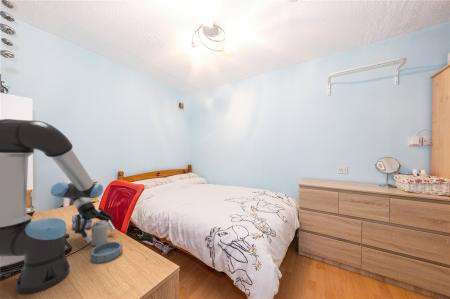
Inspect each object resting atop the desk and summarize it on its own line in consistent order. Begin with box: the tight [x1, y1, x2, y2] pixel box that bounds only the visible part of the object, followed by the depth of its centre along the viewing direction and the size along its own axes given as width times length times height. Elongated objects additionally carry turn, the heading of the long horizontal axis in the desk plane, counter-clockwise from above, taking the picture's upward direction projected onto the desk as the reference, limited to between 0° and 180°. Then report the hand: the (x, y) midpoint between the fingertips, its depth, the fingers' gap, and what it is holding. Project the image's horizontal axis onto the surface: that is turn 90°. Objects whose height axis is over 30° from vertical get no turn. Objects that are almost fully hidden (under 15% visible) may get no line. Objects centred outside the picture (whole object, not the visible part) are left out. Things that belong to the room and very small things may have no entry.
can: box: [90, 220, 109, 247], centre depth 99 cm, size 8×8×12 cm
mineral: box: [71, 213, 93, 230], centre depth 117 cm, size 14×10×10 cm
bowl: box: [89, 240, 123, 264], centre depth 88 cm, size 13×13×4 cm
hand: (102, 235), depth 98 cm, fingers open, 13 cm apart
